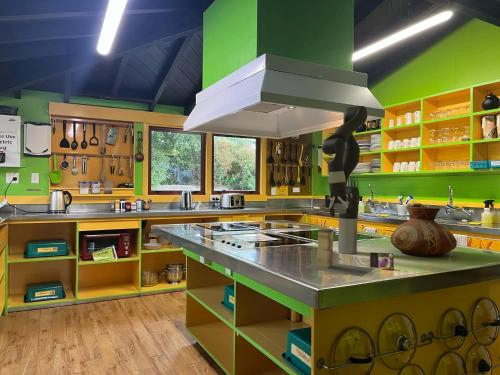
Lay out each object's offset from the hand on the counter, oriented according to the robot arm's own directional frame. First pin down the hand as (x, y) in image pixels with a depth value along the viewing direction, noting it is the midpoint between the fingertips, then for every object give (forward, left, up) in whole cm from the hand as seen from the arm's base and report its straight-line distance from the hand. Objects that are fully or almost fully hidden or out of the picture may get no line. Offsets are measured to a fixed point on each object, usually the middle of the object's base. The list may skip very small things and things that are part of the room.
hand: (340, 216), depth 175 cm
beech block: (+24, +3, -19) cm, 31 cm away
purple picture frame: (+11, +22, -20) cm, 31 cm away
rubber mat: (+24, +9, -19) cm, 32 cm away
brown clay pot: (-37, +29, -20) cm, 51 cm away
